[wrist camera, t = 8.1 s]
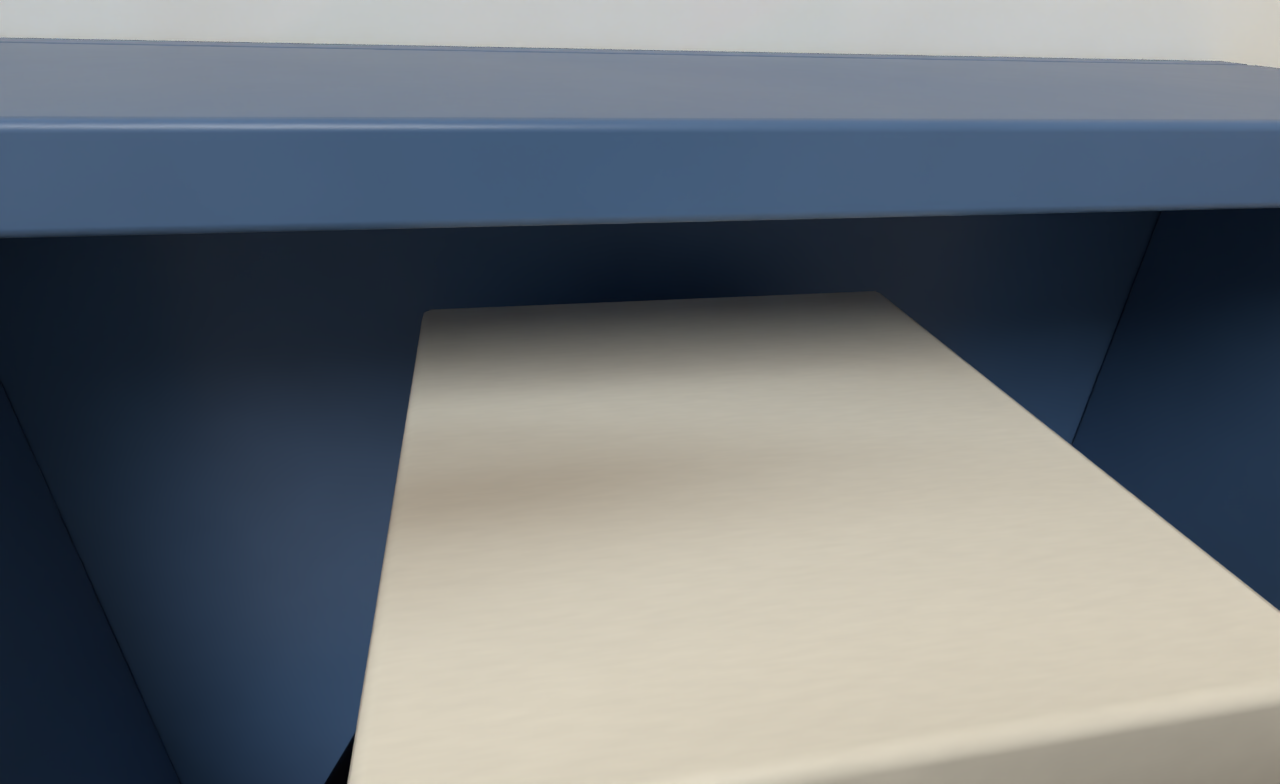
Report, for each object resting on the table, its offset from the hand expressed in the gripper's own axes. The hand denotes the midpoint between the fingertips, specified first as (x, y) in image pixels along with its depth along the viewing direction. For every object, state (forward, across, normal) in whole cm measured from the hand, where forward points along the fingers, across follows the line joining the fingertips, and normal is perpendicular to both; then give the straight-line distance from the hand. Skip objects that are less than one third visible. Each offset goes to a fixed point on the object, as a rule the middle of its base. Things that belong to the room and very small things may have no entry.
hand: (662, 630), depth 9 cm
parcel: (+1, 0, 0) cm, 1 cm away
